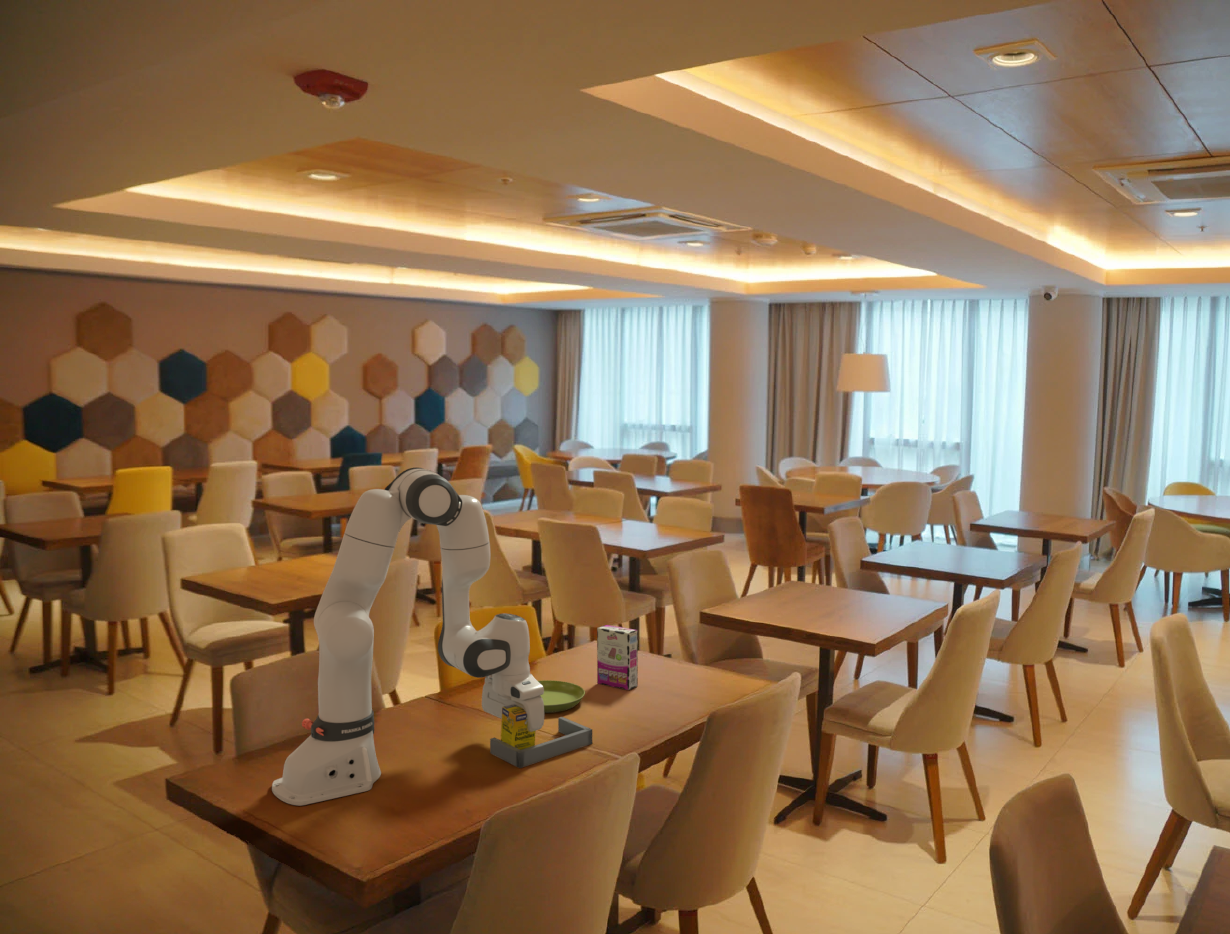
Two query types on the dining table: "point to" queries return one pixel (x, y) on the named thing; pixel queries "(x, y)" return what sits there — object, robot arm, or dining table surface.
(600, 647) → the candy bar box
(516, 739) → the supplement box
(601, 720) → the dining table surface
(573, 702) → the saucer
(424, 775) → the dining table surface
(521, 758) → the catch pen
